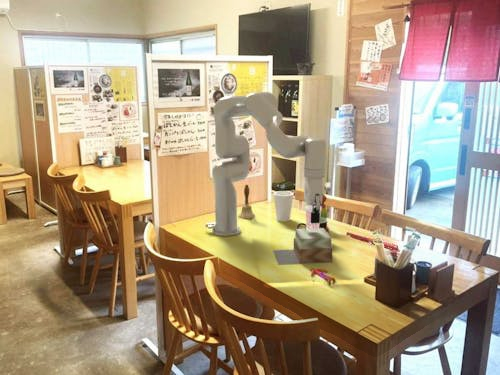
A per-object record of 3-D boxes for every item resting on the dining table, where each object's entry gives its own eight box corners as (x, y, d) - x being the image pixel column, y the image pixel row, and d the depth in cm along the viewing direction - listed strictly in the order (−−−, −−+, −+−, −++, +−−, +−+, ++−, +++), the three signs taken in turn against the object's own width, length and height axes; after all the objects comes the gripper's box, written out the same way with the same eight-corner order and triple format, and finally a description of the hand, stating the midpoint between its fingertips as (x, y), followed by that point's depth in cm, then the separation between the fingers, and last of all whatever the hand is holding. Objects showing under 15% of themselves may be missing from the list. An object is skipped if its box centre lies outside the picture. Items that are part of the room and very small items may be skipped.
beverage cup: (312, 234, 164) (313, 197, 161) (300, 229, 169) (302, 193, 166) (324, 230, 168) (325, 194, 164) (312, 226, 172) (314, 191, 169)
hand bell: (236, 214, 226) (236, 183, 222) (252, 213, 228) (252, 182, 224) (240, 219, 218) (240, 187, 215) (257, 218, 220) (257, 186, 217)
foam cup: (293, 222, 213) (294, 196, 210) (273, 222, 213) (274, 196, 210) (291, 216, 223) (292, 191, 219) (273, 216, 223) (273, 191, 220)
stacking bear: (329, 232, 199) (331, 193, 195) (306, 232, 200) (307, 193, 195) (326, 225, 210) (327, 187, 206) (304, 224, 210) (305, 187, 206)
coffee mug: (328, 240, 190) (328, 217, 187) (324, 247, 182) (325, 224, 180) (300, 237, 193) (301, 215, 191) (296, 244, 186) (296, 221, 183)
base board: (278, 267, 163) (278, 264, 163) (272, 253, 176) (272, 250, 176) (332, 265, 165) (332, 262, 164) (322, 251, 178) (323, 248, 178)
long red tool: (394, 254, 178) (400, 248, 180) (393, 250, 177) (399, 243, 180) (343, 239, 195) (349, 233, 197) (342, 235, 194) (348, 229, 196)
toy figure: (318, 270, 161) (318, 263, 161) (341, 283, 151) (341, 275, 151) (300, 275, 157) (300, 268, 157) (322, 288, 147) (323, 281, 147)
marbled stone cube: (299, 262, 164) (300, 239, 162) (293, 250, 176) (294, 228, 174) (331, 261, 165) (332, 238, 163) (323, 249, 177) (324, 227, 175)
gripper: (299, 168, 171) (298, 213, 175) (309, 178, 154) (308, 228, 159) (319, 167, 172) (317, 213, 176) (331, 177, 155) (328, 227, 159)
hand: (313, 219), depth 167 cm, fingers closed on beverage cup, 6 cm apart
